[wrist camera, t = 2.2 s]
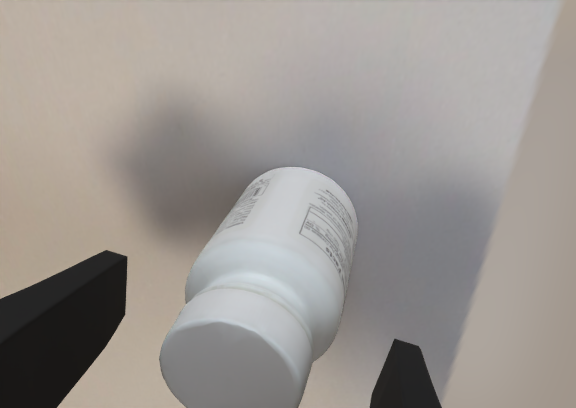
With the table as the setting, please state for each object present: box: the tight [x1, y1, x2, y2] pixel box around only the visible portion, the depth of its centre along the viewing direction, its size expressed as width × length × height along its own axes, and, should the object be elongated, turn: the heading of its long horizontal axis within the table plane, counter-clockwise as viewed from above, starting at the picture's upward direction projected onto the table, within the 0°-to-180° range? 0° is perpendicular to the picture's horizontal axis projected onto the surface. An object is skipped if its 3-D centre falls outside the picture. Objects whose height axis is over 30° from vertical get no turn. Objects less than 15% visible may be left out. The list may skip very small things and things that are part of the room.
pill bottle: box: [159, 167, 358, 408], centre depth 15 cm, size 4×4×8 cm
